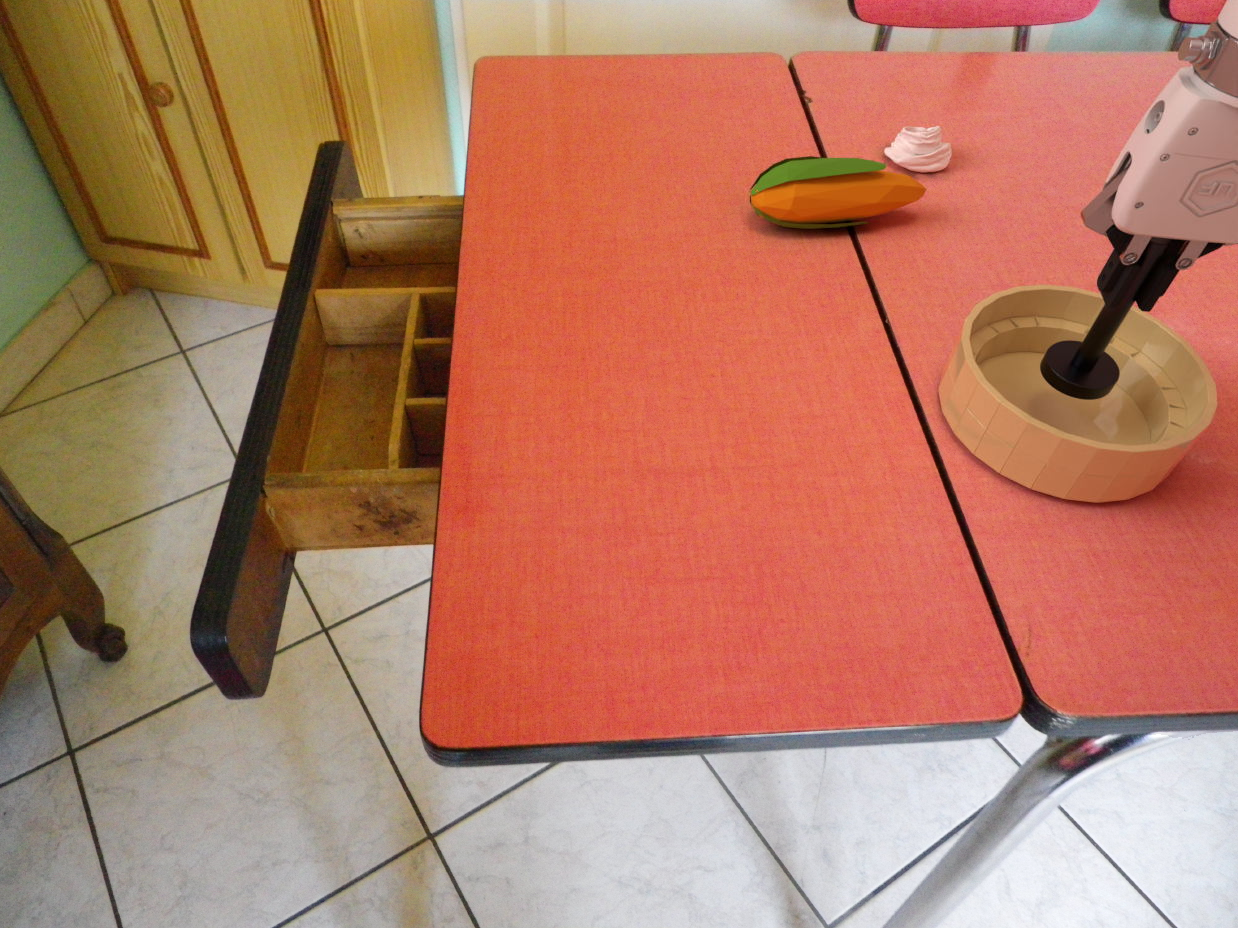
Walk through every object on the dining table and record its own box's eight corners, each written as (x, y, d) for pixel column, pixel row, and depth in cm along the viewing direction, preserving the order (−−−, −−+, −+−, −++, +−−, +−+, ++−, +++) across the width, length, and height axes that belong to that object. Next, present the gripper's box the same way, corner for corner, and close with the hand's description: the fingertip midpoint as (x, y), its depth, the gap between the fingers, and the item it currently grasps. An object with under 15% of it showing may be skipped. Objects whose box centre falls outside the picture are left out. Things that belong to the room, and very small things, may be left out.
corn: (748, 143, 92) (924, 135, 94) (737, 202, 98) (903, 194, 100) (763, 185, 87) (948, 176, 89) (751, 244, 94) (924, 234, 96)
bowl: (1196, 404, 79) (1240, 347, 73) (1136, 547, 68) (1183, 493, 63) (985, 314, 86) (1011, 257, 81) (900, 431, 75) (924, 373, 70)
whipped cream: (889, 182, 104) (899, 147, 100) (873, 148, 107) (882, 113, 103) (953, 175, 104) (965, 140, 100) (935, 142, 108) (946, 107, 104)
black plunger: (1120, 371, 74) (1211, 234, 63) (1100, 410, 71) (1192, 273, 60) (1052, 342, 76) (1128, 205, 65) (1029, 379, 73) (1105, 241, 62)
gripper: (1152, 81, 51) (1029, 320, 65) (1428, 104, 50) (1243, 340, 64) (1119, 28, 56) (1011, 260, 70) (1370, 47, 55) (1210, 279, 69)
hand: (1123, 297), depth 67 cm, fingers closed on black plunger
